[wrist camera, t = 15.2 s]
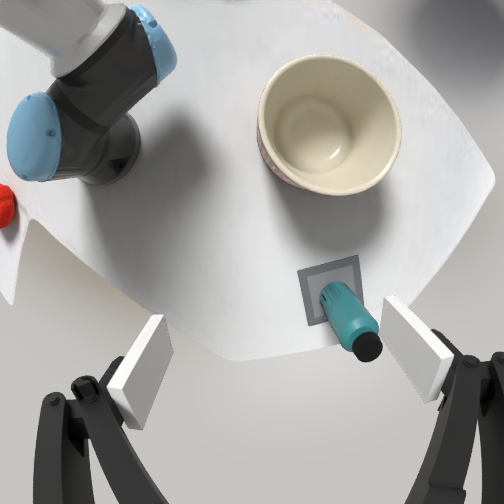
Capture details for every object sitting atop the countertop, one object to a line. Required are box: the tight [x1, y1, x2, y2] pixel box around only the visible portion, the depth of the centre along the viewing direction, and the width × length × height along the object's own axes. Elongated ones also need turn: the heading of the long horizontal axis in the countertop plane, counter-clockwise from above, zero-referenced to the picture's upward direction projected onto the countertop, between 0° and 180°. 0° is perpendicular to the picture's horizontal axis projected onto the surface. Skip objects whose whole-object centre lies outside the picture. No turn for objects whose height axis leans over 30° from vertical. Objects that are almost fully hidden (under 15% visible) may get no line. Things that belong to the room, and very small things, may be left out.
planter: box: [257, 54, 402, 196], centre depth 38 cm, size 19×19×15 cm
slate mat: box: [297, 255, 364, 326], centre depth 52 cm, size 12×12×1 cm
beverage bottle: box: [320, 281, 383, 362], centre depth 42 cm, size 6×7×20 cm
